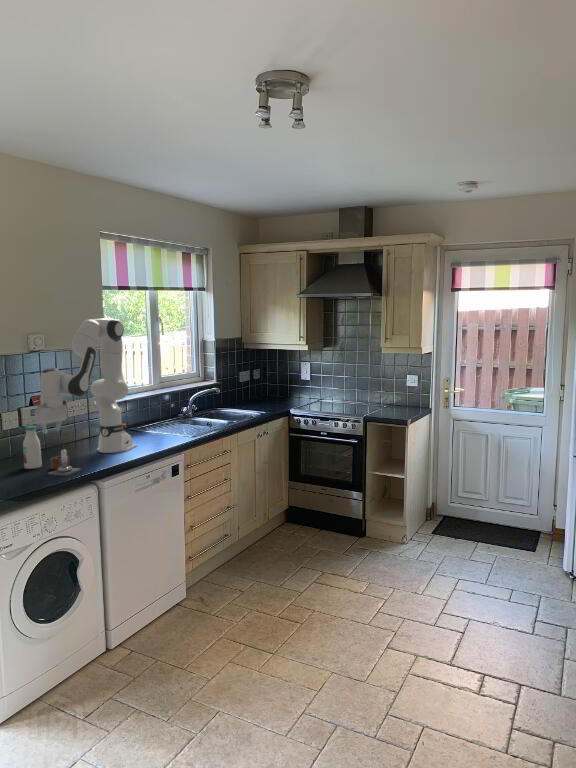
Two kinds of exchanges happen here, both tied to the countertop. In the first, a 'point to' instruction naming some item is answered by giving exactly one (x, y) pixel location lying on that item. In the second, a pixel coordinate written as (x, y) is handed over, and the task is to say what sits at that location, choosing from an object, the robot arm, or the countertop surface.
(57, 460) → the collar
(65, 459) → the post
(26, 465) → the milk bottle
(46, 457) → the countertop surface
